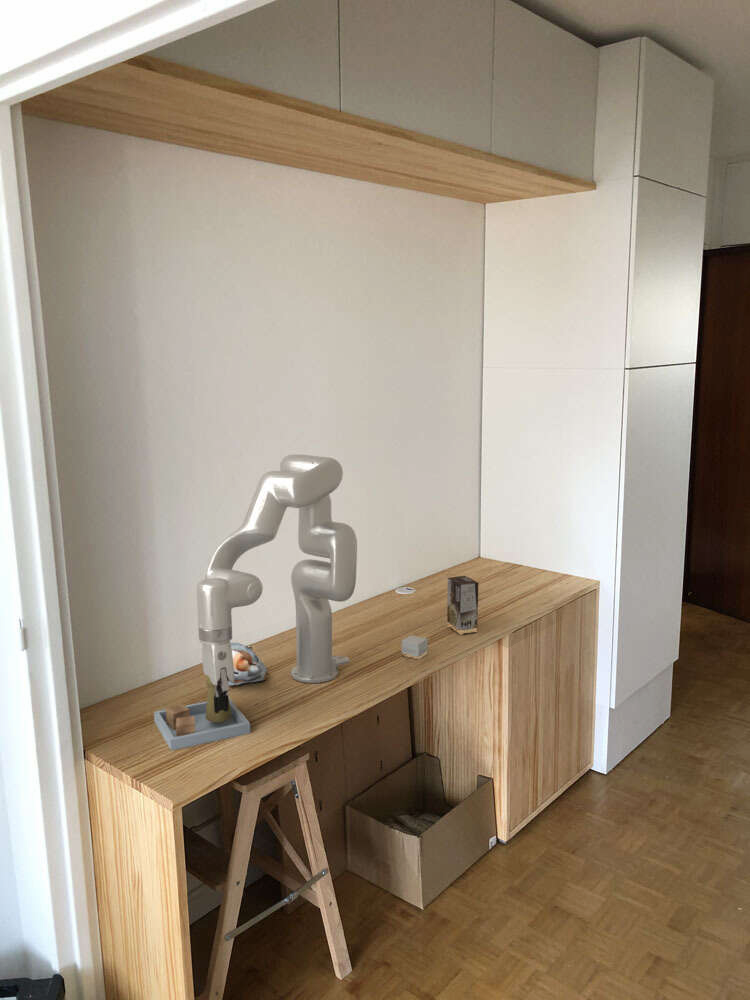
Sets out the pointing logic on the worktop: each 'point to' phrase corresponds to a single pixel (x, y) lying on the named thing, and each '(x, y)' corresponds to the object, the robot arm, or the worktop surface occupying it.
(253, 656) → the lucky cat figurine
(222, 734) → the tray
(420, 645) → the small box
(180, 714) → the walnut block
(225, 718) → the cork
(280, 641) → the worktop surface
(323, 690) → the worktop surface
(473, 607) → the coffee box
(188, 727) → the walnut block
